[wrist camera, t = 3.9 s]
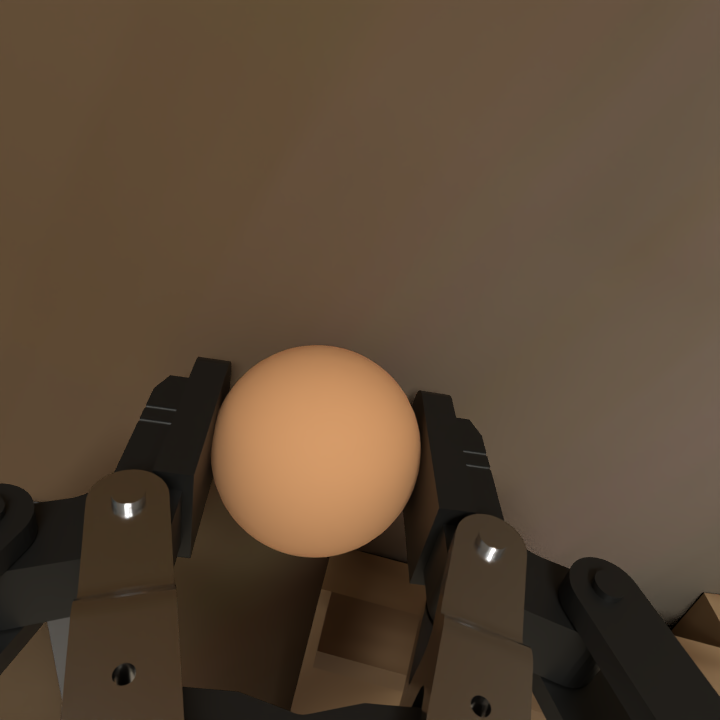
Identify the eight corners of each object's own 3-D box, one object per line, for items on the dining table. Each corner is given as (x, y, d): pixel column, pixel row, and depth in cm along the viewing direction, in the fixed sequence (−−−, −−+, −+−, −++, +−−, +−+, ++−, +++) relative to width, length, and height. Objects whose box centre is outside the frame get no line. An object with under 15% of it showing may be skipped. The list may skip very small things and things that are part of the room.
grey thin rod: (64, 505, 17) (62, 510, 16) (96, 743, 25) (95, 747, 25) (28, 501, 16) (25, 505, 16) (72, 742, 25) (70, 746, 25)
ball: (432, 323, 13) (461, 460, 10) (390, 462, 16) (401, 613, 12) (237, 292, 13) (191, 424, 9) (225, 440, 15) (184, 590, 12)
